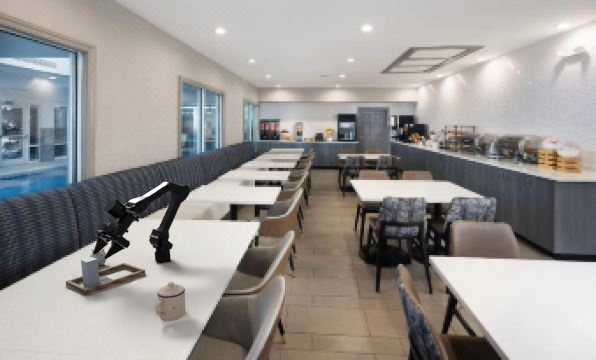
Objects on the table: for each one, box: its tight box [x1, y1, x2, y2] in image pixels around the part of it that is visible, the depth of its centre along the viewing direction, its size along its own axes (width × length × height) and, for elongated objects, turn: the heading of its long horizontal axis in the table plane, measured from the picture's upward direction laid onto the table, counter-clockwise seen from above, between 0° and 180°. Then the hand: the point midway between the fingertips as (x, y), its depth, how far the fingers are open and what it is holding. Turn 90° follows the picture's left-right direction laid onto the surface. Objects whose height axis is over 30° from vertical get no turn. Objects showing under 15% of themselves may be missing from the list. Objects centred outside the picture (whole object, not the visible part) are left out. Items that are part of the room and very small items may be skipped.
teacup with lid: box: [154, 281, 187, 321], centre depth 133 cm, size 12×9×12 cm
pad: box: [104, 271, 127, 280], centre depth 170 cm, size 6×7×1 cm
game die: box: [88, 248, 107, 267], centre depth 182 cm, size 9×8×10 cm
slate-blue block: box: [80, 256, 100, 289], centre depth 160 cm, size 4×4×11 cm
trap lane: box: [65, 262, 146, 296], centre depth 166 cm, size 26×16×2 cm, turn 144°
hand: (99, 256), depth 163 cm, fingers open, 9 cm apart
